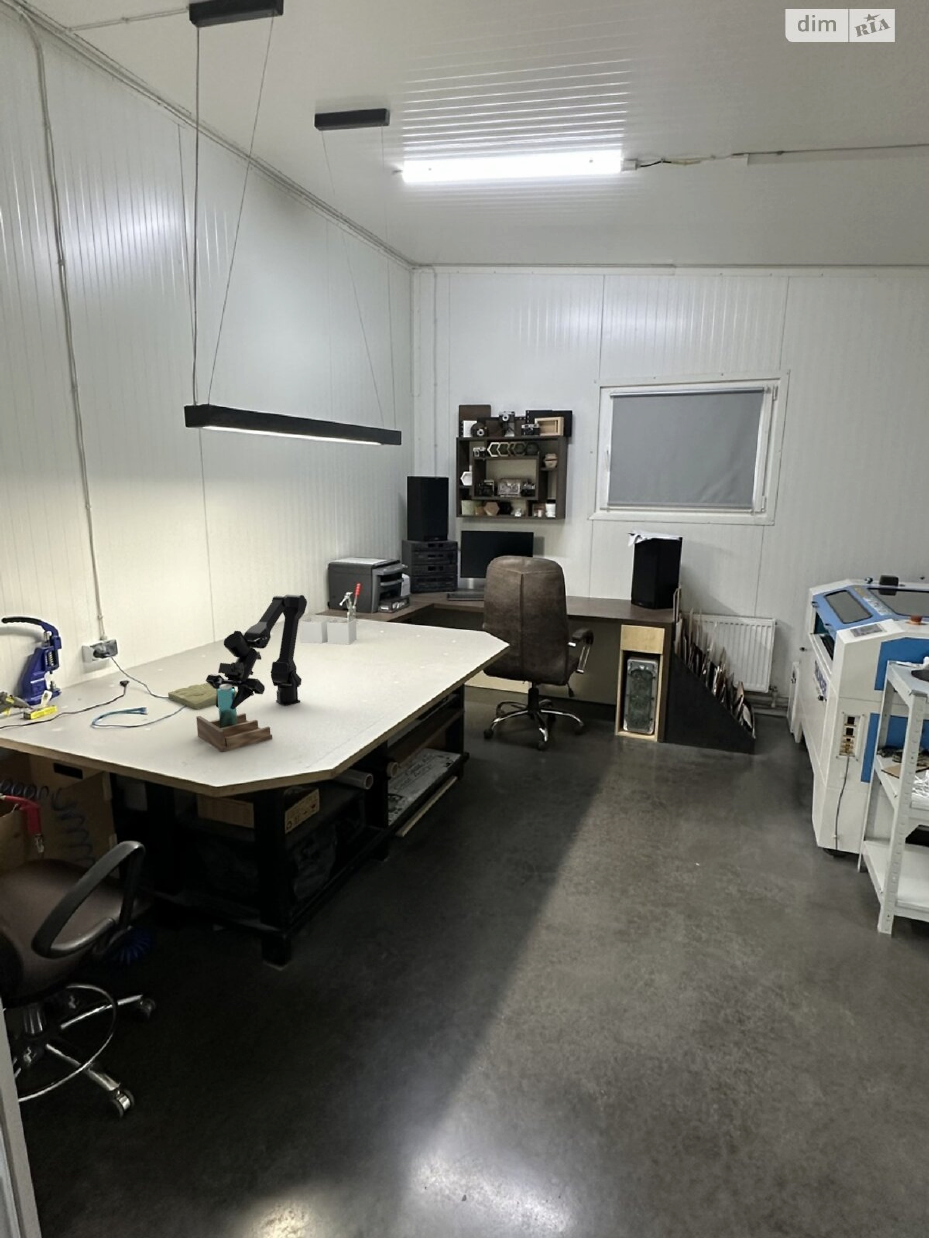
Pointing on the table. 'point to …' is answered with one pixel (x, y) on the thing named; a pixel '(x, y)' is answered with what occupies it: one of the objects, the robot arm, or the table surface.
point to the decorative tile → (195, 696)
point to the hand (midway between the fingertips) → (224, 708)
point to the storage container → (328, 632)
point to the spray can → (226, 705)
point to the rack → (232, 733)
